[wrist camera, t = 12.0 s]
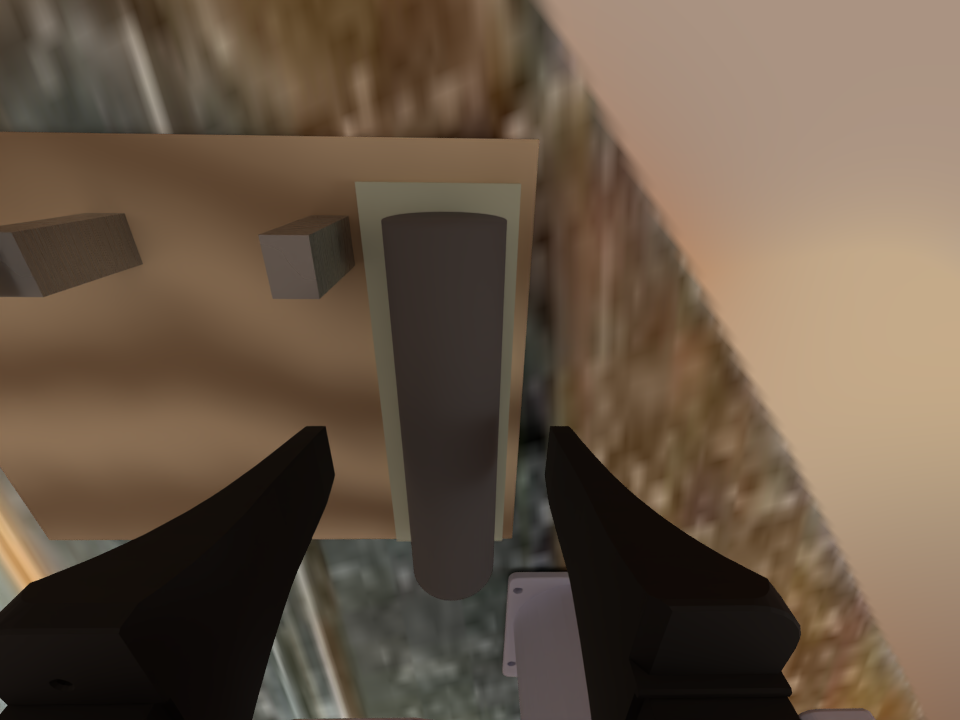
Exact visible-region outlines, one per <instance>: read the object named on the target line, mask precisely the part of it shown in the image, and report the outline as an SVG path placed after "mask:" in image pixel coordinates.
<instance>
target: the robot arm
mask: <svg viewBox="0 0 960 720" xmlns="http://www.w3.org/2000/svg"><path fill="white" fill-rule="evenodd" d="M334 478H335V471H334V466H333V461H332V456H331V451H330V446H329V441H328V435H327V430H326V426H306V427H304V428H303V429H302V430H300V431H299V432H298V433H296V434H295V435H294V436H293V437H291V438H290V439H289V440H288V441H286V442H285V443H284V444H283V445H281V446H280V447H279V448H278V449H276V450H275V451H274V452H272V453H271V454H270V455H269V456H267V457H266V458H265V459H264V460H262V461H261V462H260V463H258V464H257V465H256V466H254V467H253V468H252V469H250V470H249V471H247V472H246V473H245V474H243V475H242V476H241V477H239V478H238V479H236V480H235V481H234V482H232V483H231V484H229V485H228V486H227V487H225V488H224V489H222V490H221V491H219V492H218V493H216V494H214V495H213V496H211V497H210V498H208V499H207V500H205V501H203V502H202V503H200V504H198V505H197V506H195V507H193V508H192V509H190V510H188V511H187V512H185V513H183V514H181V515H179V516H178V517H176V518H174V519H172V520H170V521H168V522H166V523H165V524H163V525H161V526H159V527H157V528H155V529H153V530H152V531H150V532H148V533H146V534H144V535H142V536H140V537H138V538H136V539H134V540H131V541H129V542H127V543H125V544H123V545H121V546H119V547H117V548H114V549H112V550H110V551H108V552H106V553H103V554H101V555H99V556H96V557H94V558H92V559H90V560H87V561H85V562H82V563H80V564H77V565H75V566H72V567H70V568H67V569H65V570H62V571H60V572H57V573H55V574H52V575H50V576H47V577H45V578H42V579H40V580H37V581H34V582H32V583H30V584H29V585H28V586H26V587H25V588H24V589H23V590H22V591H21V592H20V593H19V594H18V595H17V596H16V597H15V598H14V599H13V600H12V601H11V602H10V603H9V604H8V605H7V606H6V607H5V608H4V609H3V610H2V611H1V612H0V698H1V699H2V700H3V701H4V702H5V703H6V704H7V705H8V706H7V707H6V708H5V709H4V710H3V711H2V713H1V714H0V720H252V718H253V714H254V710H255V706H256V703H257V699H258V695H259V691H260V688H261V684H262V681H263V677H264V674H265V670H266V666H267V663H268V659H269V656H270V652H271V649H272V646H273V643H274V639H275V636H276V633H277V630H278V626H279V623H280V620H281V617H282V614H283V611H284V608H285V605H286V602H287V598H288V595H289V592H290V589H291V586H292V584H293V581H294V579H295V576H296V574H297V571H298V569H299V566H300V564H301V562H302V560H303V557H304V555H305V553H306V551H307V548H308V546H309V544H310V542H311V540H312V537H313V535H314V533H315V531H316V528H317V526H318V524H319V521H320V519H321V517H322V515H323V512H324V510H325V507H326V505H327V502H328V499H329V496H330V492H331V489H332V485H333V482H334ZM545 480H546V487H547V494H548V500H549V505H550V509H551V513H552V517H553V520H554V524H555V528H556V531H557V535H558V539H559V542H560V546H561V549H562V553H563V557H564V560H565V564H566V568H567V572H515V573H512V574H511V575H510V576H509V578H508V590H507V605H506V620H505V635H504V650H503V665H502V669H503V674H504V675H505V676H508V677H517V678H518V690H519V702H520V714H521V720H875V718H874V717H873V716H872V714H871V713H870V712H869V711H867V710H865V709H814V710H808V711H806V712H803V713H801V714H799V715H798V714H797V713H796V711H795V709H794V707H793V706H792V704H791V702H790V700H789V699H788V697H790V696H791V694H792V690H791V687H790V685H789V684H788V682H787V680H786V679H785V677H784V675H783V674H782V672H781V671H782V669H783V667H784V666H785V664H786V663H787V661H788V660H789V658H790V656H791V655H792V653H793V652H794V650H795V649H796V646H797V644H798V642H799V639H800V636H801V631H800V625H799V623H798V622H797V620H796V618H795V617H794V615H793V614H792V612H791V611H790V609H789V608H788V606H787V605H786V603H785V602H784V600H783V599H782V597H781V596H780V595H779V593H778V592H777V591H776V589H775V588H774V587H773V586H772V584H771V583H770V582H769V580H768V579H767V578H765V577H763V576H761V575H759V574H757V573H755V572H753V571H751V570H749V569H747V568H745V567H743V566H742V565H740V564H738V563H736V562H734V561H732V560H730V559H728V558H726V557H724V556H723V555H721V554H719V553H717V552H716V551H714V550H712V549H711V548H709V547H707V546H705V545H704V544H702V543H700V542H699V541H697V540H696V539H694V538H692V537H691V536H689V535H688V534H686V533H685V532H683V531H682V530H680V529H679V528H677V527H676V526H674V525H673V524H672V523H670V522H669V521H667V520H666V519H664V518H663V517H662V516H660V515H659V514H658V513H656V512H655V511H654V510H652V509H651V508H650V507H649V506H647V505H646V504H645V503H644V502H642V501H641V500H640V499H639V498H637V497H636V496H635V495H634V494H633V493H632V492H630V491H629V490H628V489H627V488H626V487H625V486H624V485H623V484H622V483H621V482H620V481H619V480H618V479H616V478H615V477H614V476H613V475H612V474H611V473H610V471H609V470H608V469H607V468H606V467H605V466H604V465H603V464H602V463H601V462H600V461H599V460H598V459H597V458H596V457H595V455H594V454H593V453H592V452H591V451H590V450H589V449H588V448H587V446H586V445H585V444H584V443H583V442H582V441H581V439H580V438H579V437H578V436H577V435H576V434H575V432H574V431H573V430H572V429H571V428H570V427H569V426H550V433H549V442H548V451H547V460H546V469H545ZM293 720H431V719H422V718H343V719H293Z"/></svg>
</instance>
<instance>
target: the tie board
mask: <svg viewBox="0 0 960 720" xmlns="http://www.w3.org/2000/svg"><path fill="white" fill-rule="evenodd" d="M538 152H539V139H471V138H401V137H330V136H259V135H189V134H118V133H47V132H0V467H1V469H2V470H3V472H4V473H5V475H6V476H7V478H8V479H9V481H10V482H11V484H12V485H13V487H14V488H15V489H16V491H17V492H18V494H19V495H20V497H21V498H22V500H23V501H24V503H25V504H26V506H27V507H28V509H29V510H30V512H31V513H32V515H33V516H34V518H35V519H36V521H37V522H38V524H39V525H40V526H41V528H42V529H43V531H44V532H45V534H46V535H47V537H48V538H49V540H134V539H136V538H138V537H140V536H142V535H144V534H146V533H148V532H150V531H152V530H153V529H155V528H157V527H159V526H161V525H163V524H165V523H166V522H168V521H170V520H172V519H174V518H176V517H178V516H179V515H181V514H183V513H185V512H187V511H188V510H190V509H192V508H193V507H195V506H197V505H198V504H200V503H202V502H203V501H205V500H207V499H208V498H210V497H211V496H213V495H214V494H216V493H218V492H219V491H221V490H222V489H224V488H225V487H227V486H228V485H229V484H231V483H232V482H234V481H235V480H236V479H238V478H239V477H241V476H242V475H243V474H245V473H246V472H247V471H249V470H250V469H252V468H253V467H254V466H256V465H257V464H258V463H260V462H261V461H262V460H264V459H265V458H266V457H267V456H269V455H270V454H271V453H272V452H274V451H275V450H276V449H278V448H279V447H280V446H281V445H283V444H284V443H285V442H286V441H288V440H289V439H290V438H291V437H293V436H294V435H295V434H296V433H298V432H299V431H300V430H302V429H303V428H304V427H306V426H326V430H327V435H328V441H329V446H330V451H331V456H332V461H333V466H334V471H335V478H334V482H333V485H332V489H331V492H330V496H329V499H328V502H327V505H326V507H325V510H324V512H323V515H322V517H321V519H320V521H319V524H318V526H317V528H316V531H315V533H314V535H313V537H312V539H397V541H411V534H410V524H409V513H408V502H407V492H406V481H405V470H404V460H403V449H402V438H401V428H400V417H399V406H398V396H397V385H396V374H395V364H394V353H393V342H392V332H391V321H390V310H389V300H388V289H387V278H386V268H385V257H384V246H383V236H382V225H381V220H382V219H383V218H385V217H388V216H393V215H398V214H406V213H418V212H470V213H481V214H489V215H495V216H499V217H503V218H505V219H506V220H507V235H506V260H505V285H504V310H503V334H502V359H501V384H500V409H499V434H498V458H497V483H496V508H495V533H494V541H502V538H512V531H513V516H514V502H515V487H516V473H517V458H518V443H519V429H520V414H521V400H522V385H523V371H524V356H525V341H526V327H527V312H528V298H529V283H530V269H531V254H532V240H533V225H534V210H535V196H536V181H537V167H538Z"/></svg>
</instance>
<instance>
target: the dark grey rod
mask: <svg viewBox="0 0 960 720" xmlns="http://www.w3.org/2000/svg"><path fill="white" fill-rule="evenodd" d="M381 225H382V236H383V246H384V257H385V268H386V278H387V289H388V300H389V310H390V321H391V332H392V342H393V353H394V364H395V374H396V385H397V396H398V406H399V417H400V428H401V438H402V449H403V460H404V470H405V481H406V492H407V502H408V513H409V524H410V534H411V545H412V556H413V566H414V574H415V577H416V580H417V582H418V583H419V585H420V586H421V587H422V589H423V590H425V591H426V592H427V593H428V594H430V595H432V596H434V597H436V598H439V599H443V600H460V599H464V598H467V597H470V596H472V595H474V594H475V593H477V592H478V591H480V590H481V589H482V588H483V587H484V586H485V585H486V583H487V582H488V580H489V578H490V576H491V573H492V570H493V558H494V533H495V508H496V483H497V458H498V434H499V409H500V384H501V359H502V334H503V310H504V285H505V260H506V235H507V220H506V219H505V218H503V217H499V216H495V215H489V214H481V213H470V212H418V213H406V214H398V215H393V216H388V217H385V218H383V219H382V220H381Z"/></svg>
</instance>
